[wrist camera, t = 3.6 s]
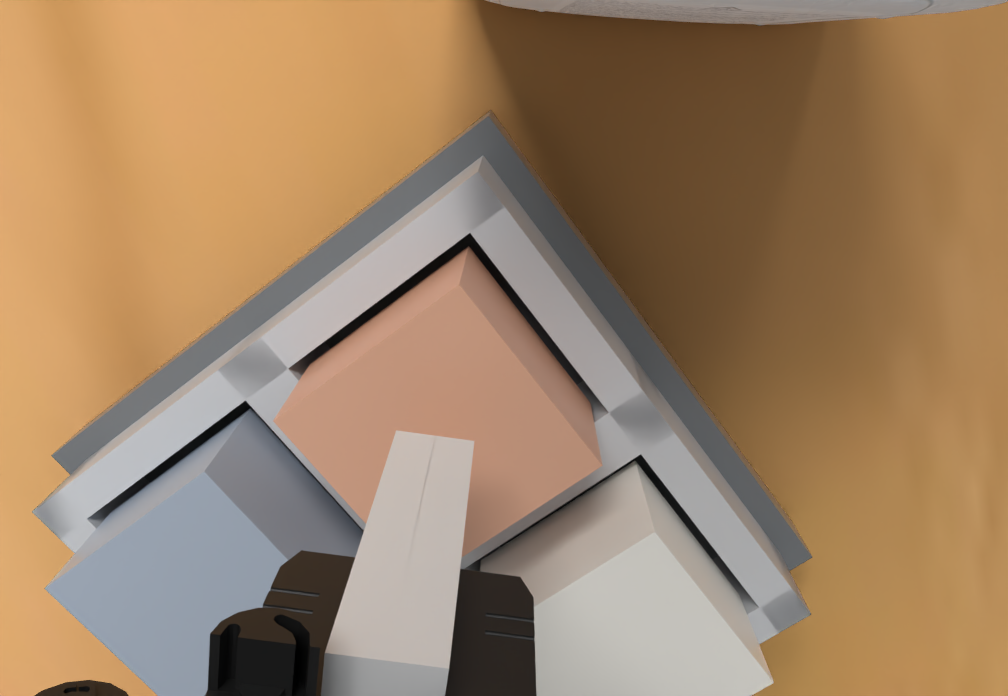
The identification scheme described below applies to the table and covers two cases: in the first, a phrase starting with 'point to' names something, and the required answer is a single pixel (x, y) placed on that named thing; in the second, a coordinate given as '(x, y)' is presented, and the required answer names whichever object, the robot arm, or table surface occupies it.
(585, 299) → the keypad base
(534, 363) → the key terracotta
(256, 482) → the key slate
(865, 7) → the photo printer
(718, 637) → the key ivory
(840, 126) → the table surface
